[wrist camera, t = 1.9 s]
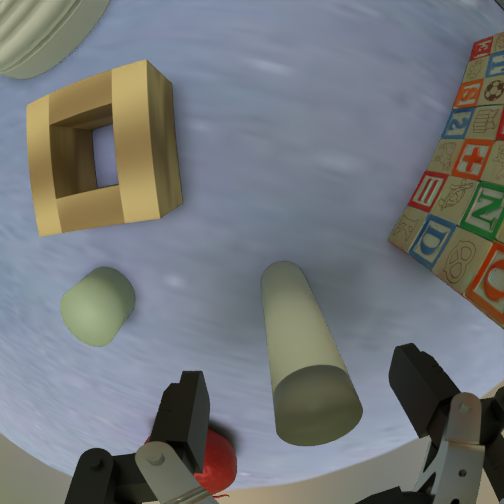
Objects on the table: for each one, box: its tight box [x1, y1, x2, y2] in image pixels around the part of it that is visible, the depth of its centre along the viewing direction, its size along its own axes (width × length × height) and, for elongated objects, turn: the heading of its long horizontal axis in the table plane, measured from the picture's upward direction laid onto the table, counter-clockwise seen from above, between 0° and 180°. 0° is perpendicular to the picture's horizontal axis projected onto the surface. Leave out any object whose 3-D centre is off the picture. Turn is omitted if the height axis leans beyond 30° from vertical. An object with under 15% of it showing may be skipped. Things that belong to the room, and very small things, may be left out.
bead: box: [60, 267, 135, 347], centre depth 18 cm, size 4×4×4 cm
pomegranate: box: [144, 428, 237, 498], centre depth 21 cm, size 10×10×9 cm
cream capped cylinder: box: [261, 261, 363, 446], centre depth 14 cm, size 3×3×12 cm
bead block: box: [27, 59, 183, 237], centre depth 14 cm, size 8×8×5 cm
